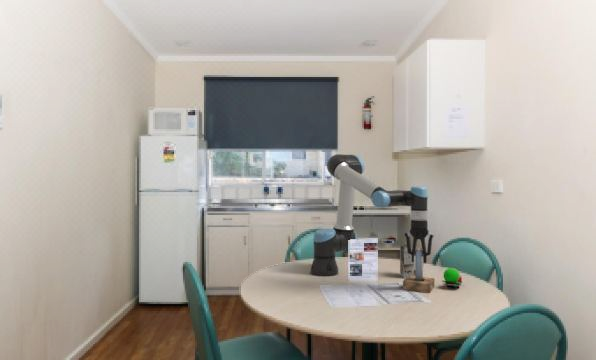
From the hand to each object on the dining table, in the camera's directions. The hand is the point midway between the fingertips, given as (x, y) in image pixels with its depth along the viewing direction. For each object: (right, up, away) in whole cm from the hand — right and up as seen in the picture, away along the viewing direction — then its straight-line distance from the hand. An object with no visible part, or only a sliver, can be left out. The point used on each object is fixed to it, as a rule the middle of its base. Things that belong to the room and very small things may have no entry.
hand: (419, 269), depth 198 cm
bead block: (0, -9, 0) cm, 9 cm away
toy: (+17, -9, +4) cm, 20 cm away
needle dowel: (0, -5, 0) cm, 5 cm away
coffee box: (+1, -9, +23) cm, 25 cm away
